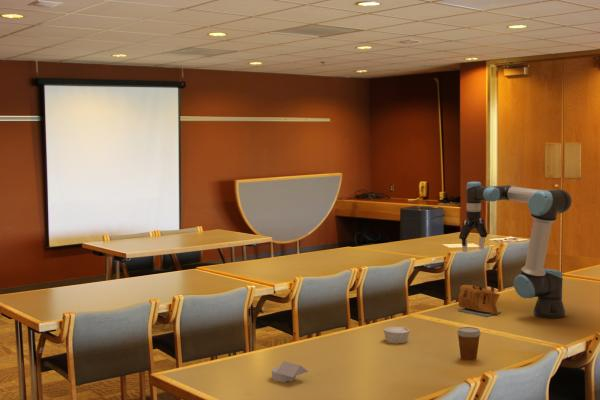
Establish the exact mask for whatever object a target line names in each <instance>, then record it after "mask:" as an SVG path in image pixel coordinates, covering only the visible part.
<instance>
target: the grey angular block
mask: <svg viewBox="0 0 600 400" xmlns="http://www.w3.org/2000/svg"><path fill="white" fill-rule="evenodd" d="M308 372H310V371H309V370H307V369H306V368H305V367H303V365H300V364H297V363H293V362H289V361H286V360H285V361H283V362H282V363H281V364H280V366H276V367H273V368H272V369H271V379H273V380H272V381H274V380H275V381H274V382H276V381H281V382H280V383H287V382H286V381H290V382H292V381H291V380H294V379H295V378H296V379H297V376H299V375H303V374H305V373H308ZM296 379H295V380H296ZM295 380H294V381H295Z"/></svg>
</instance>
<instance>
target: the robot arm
mask: <svg viewBox="0 0 600 400" xmlns="http://www.w3.org/2000/svg"><path fill="white" fill-rule="evenodd" d="M465 190H466V212H465V213H466V216H465V217H466V219H467V220H463V222H462V227H461V229H460V233H459V237H458V239H460V240H461V246H462V248H461V249H462V253H463V252H464V253H468V239H467V238H468V237H469V235H470V233H471V231H472V230H473V229H475V230H476V231H477V233H478V234H479V237H478V244H479V245H478V248H479V250H485V240H486V239H485V238H487V237H488V231H487V229H486V225H485V220H484V219H483V218H482V211H481V210H482V201H483V202H493V203H494V202H496V201H512V202H517V203H525V204H527V208H528V209H529V212H530V213H531V214H530V217H531V218H532V220H533V221H532V227H531V232H530V237H529V243H528V247H527V253H526V254H527V255H526V258H525V259H526V260H525V265H524V266H522V267H521V269H520V273H519V274H518V275H517V276H515V278H514V280H513V287H514V290H515V292H516V294H517V295H518V296H519V297H520V298H522V299H532V298H536V297H537V300H536V303H535V306H534V309H533V314H534V316H536V317H539V318H547V319H561V318H564V317H566V308H565V306H564V302H563V281H564V280H563V272H562V271H561V270H558V269H553V268H552V269H551V268H545V267H544V266H545V261H546V255H547V251H548V245H549V241H550V236H551V229H552V225H553V223H555V222H556V221H557V216H558V214H564V213H566V212H567V211H568V210H569V209H570V208H571V206H572V204H573V203H572V202H573V200H572V199H573V198H572V196H571V194H570V193H569V192H568V191H566V190H564V189H562V188H561V189H559V188H558V189H557V188H556V189H553V188H552V189H535V188H528V187H521V186H520V187H518V186H514V185H512V184H511V185H508V184H506V185H495V186H493V185H492V186H482V183H481V182H480V181H468V182H467V183H466V189H465Z"/></svg>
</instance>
